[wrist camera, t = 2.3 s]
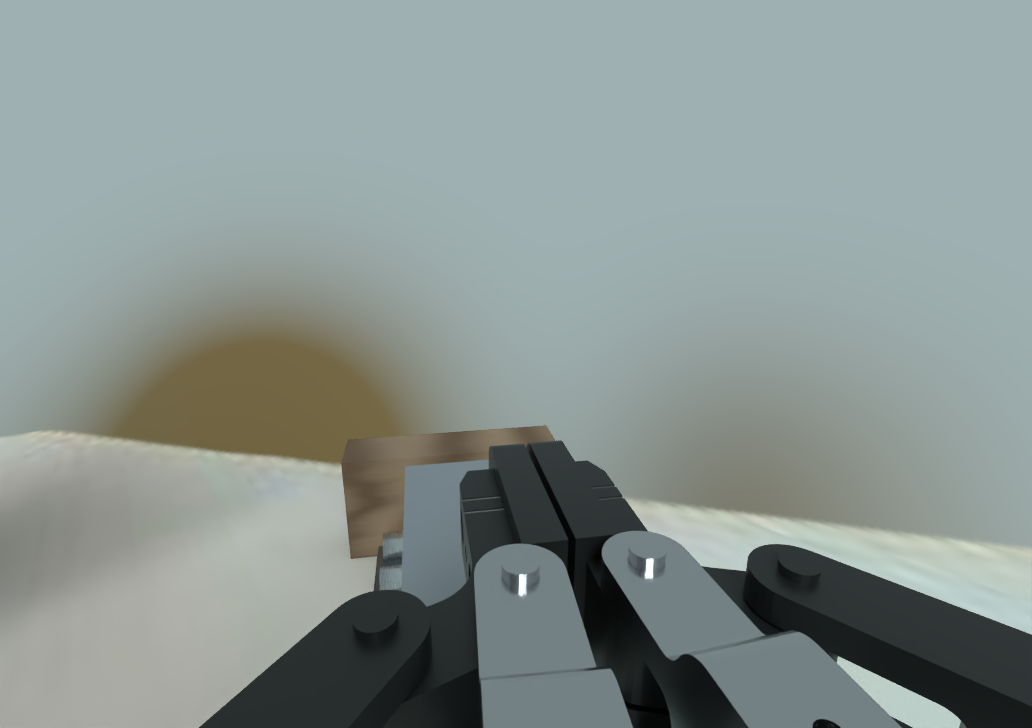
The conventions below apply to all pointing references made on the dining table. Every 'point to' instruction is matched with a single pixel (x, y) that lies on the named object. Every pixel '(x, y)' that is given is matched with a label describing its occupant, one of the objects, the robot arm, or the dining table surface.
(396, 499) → the stop bar
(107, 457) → the dining table surface
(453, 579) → the slate block
